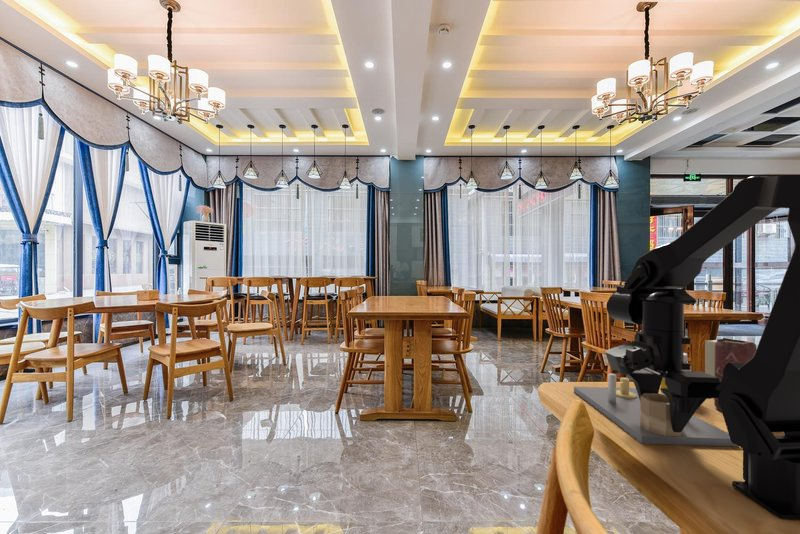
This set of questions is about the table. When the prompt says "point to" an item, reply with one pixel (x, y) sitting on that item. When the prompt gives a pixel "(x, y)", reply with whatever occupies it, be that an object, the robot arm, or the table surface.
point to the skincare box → (710, 357)
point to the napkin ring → (656, 414)
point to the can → (731, 356)
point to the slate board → (626, 414)
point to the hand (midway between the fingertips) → (661, 422)
